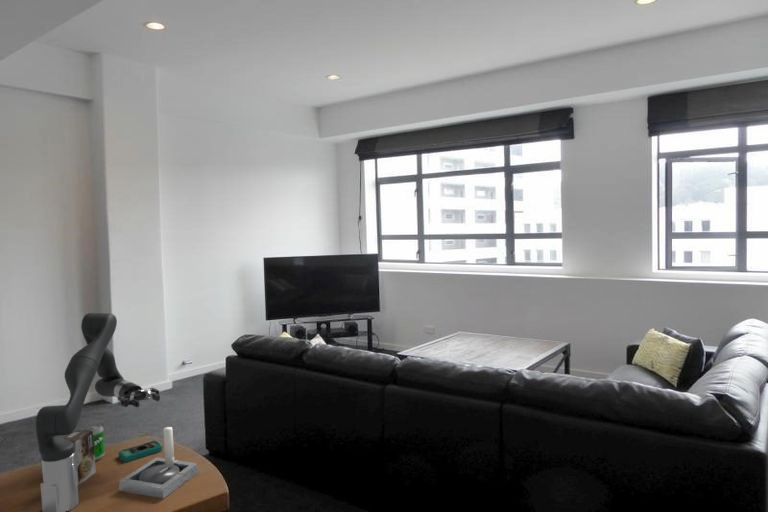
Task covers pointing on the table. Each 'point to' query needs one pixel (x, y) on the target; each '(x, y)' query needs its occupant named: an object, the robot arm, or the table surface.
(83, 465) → the coffee box
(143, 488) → the grey square frame
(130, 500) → the table surface
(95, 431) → the soda can
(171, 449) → the lever
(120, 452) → the digital multimeter
